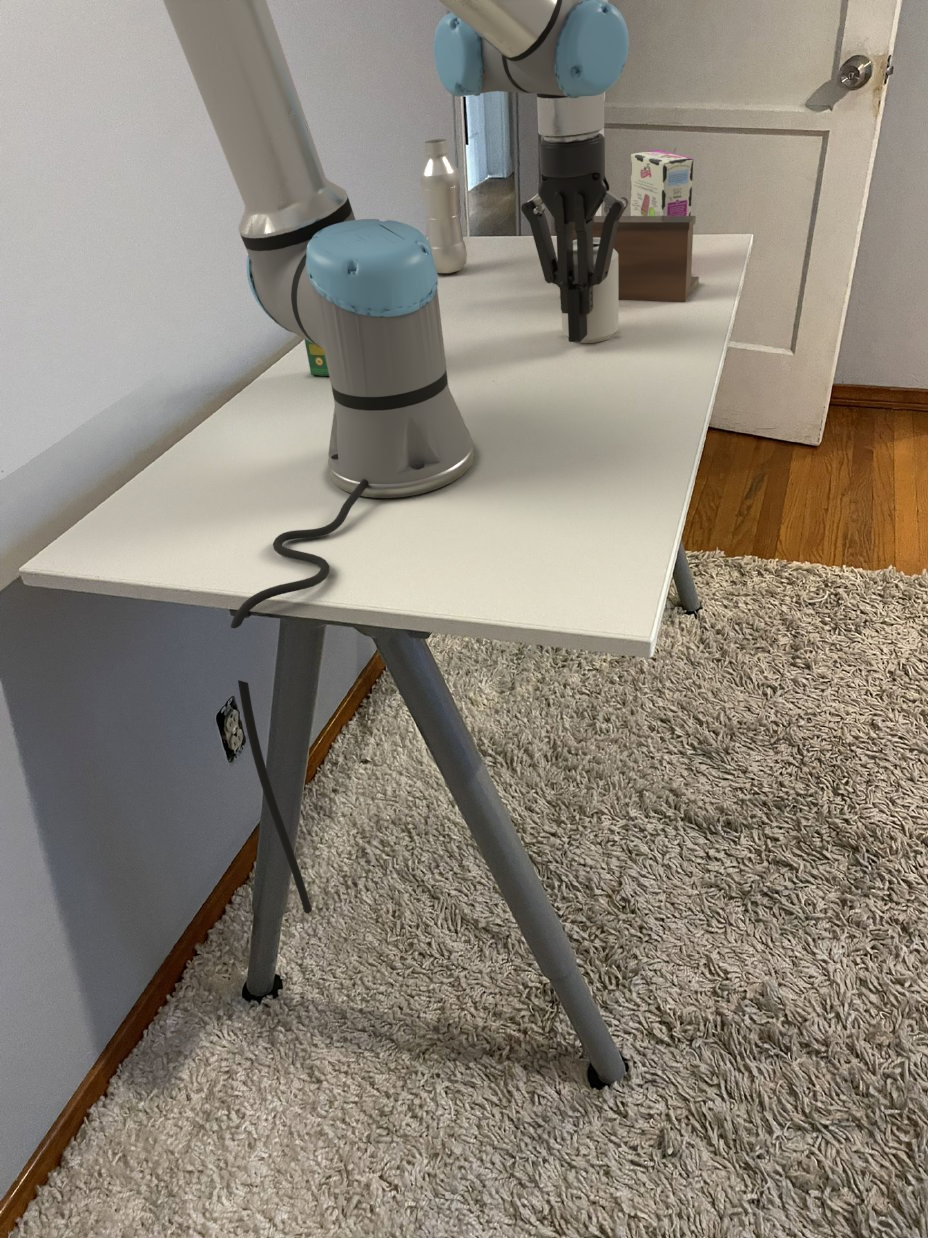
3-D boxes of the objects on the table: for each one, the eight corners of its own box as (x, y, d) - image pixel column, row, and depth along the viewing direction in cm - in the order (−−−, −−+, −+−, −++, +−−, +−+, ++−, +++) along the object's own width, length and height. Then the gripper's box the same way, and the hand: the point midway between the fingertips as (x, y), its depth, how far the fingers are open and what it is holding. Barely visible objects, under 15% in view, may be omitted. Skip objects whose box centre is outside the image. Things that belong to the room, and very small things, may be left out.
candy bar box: (690, 275, 140) (695, 157, 131) (660, 281, 139) (663, 162, 130) (656, 258, 149) (658, 147, 139) (628, 264, 148) (628, 152, 139)
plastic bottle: (423, 272, 157) (407, 142, 145) (459, 263, 159) (446, 135, 147) (438, 280, 152) (423, 146, 140) (475, 271, 154) (463, 139, 142)
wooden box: (686, 302, 130) (689, 222, 124) (564, 298, 137) (561, 221, 131) (700, 284, 136) (703, 207, 130) (582, 281, 143) (580, 207, 137)
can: (619, 324, 125) (619, 232, 118) (617, 344, 119) (616, 248, 112) (565, 326, 127) (561, 236, 120) (559, 346, 121) (555, 251, 114)
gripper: (636, 126, 105) (635, 330, 119) (531, 131, 110) (541, 325, 124) (616, 139, 100) (617, 351, 113) (506, 143, 105) (520, 345, 119)
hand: (578, 337), depth 119 cm, fingers closed
